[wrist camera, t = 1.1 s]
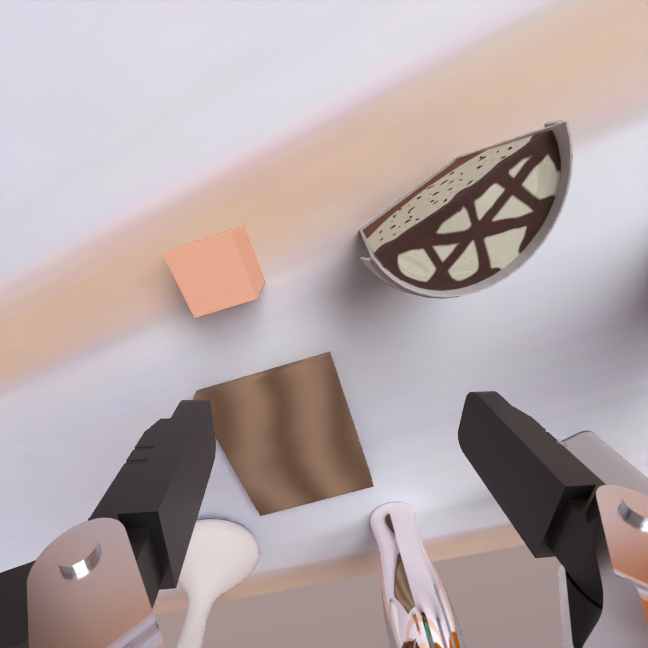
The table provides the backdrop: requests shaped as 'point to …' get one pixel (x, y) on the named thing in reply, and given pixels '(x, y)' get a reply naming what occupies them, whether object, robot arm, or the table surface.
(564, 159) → the food container
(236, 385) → the walnut board
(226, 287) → the terracotta cube
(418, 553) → the beer glass
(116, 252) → the table surface
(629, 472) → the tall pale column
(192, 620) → the flower in vase
